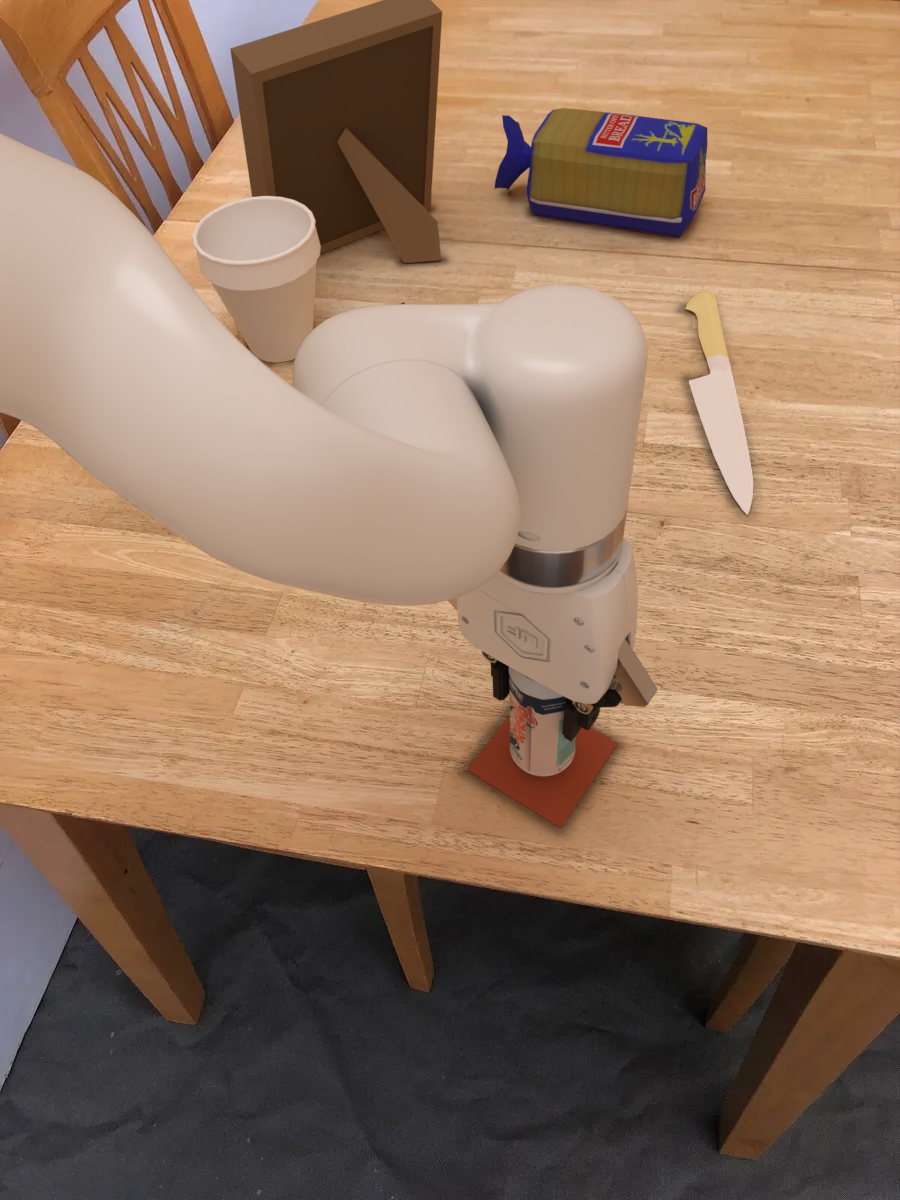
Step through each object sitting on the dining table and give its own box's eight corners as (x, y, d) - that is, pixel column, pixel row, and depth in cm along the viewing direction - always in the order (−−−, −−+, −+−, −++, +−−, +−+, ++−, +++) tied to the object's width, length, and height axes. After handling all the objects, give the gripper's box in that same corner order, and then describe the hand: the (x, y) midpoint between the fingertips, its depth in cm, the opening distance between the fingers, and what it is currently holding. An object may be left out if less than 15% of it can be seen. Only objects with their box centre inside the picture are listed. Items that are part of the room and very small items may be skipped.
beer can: (513, 718, 69) (512, 624, 60) (576, 724, 69) (586, 630, 59) (506, 776, 67) (504, 686, 57) (573, 783, 66) (582, 693, 56)
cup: (277, 297, 107) (250, 183, 96) (359, 331, 102) (341, 214, 91) (202, 355, 101) (164, 240, 90) (286, 393, 96) (256, 276, 85)
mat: (560, 828, 65) (560, 826, 65) (468, 771, 68) (467, 768, 68) (617, 745, 69) (617, 742, 69) (527, 694, 72) (527, 691, 72)
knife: (715, 514, 82) (768, 507, 81) (671, 293, 102) (713, 285, 101) (716, 524, 83) (768, 517, 82) (672, 303, 103) (714, 295, 102)
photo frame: (261, 256, 112) (206, 30, 93) (412, 196, 119) (391, -27, 99) (318, 313, 104) (272, 80, 85) (477, 246, 111) (468, 15, 91)
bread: (687, 246, 108) (700, 159, 100) (488, 215, 115) (486, 131, 107) (706, 202, 114) (720, 116, 106) (516, 175, 120) (515, 92, 112)
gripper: (380, 501, 50) (410, 683, 64) (664, 644, 43) (627, 812, 57) (461, 421, 53) (472, 611, 68) (735, 542, 46) (683, 725, 61)
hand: (543, 702), depth 62 cm, fingers closed on beer can, 4 cm apart
